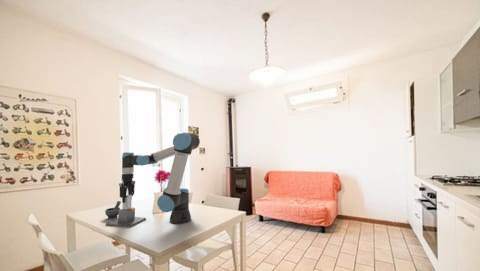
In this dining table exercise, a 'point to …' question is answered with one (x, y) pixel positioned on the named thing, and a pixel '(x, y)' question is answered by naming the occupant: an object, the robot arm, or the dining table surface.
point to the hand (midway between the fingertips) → (126, 206)
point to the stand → (126, 219)
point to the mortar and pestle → (113, 211)
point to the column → (128, 202)
